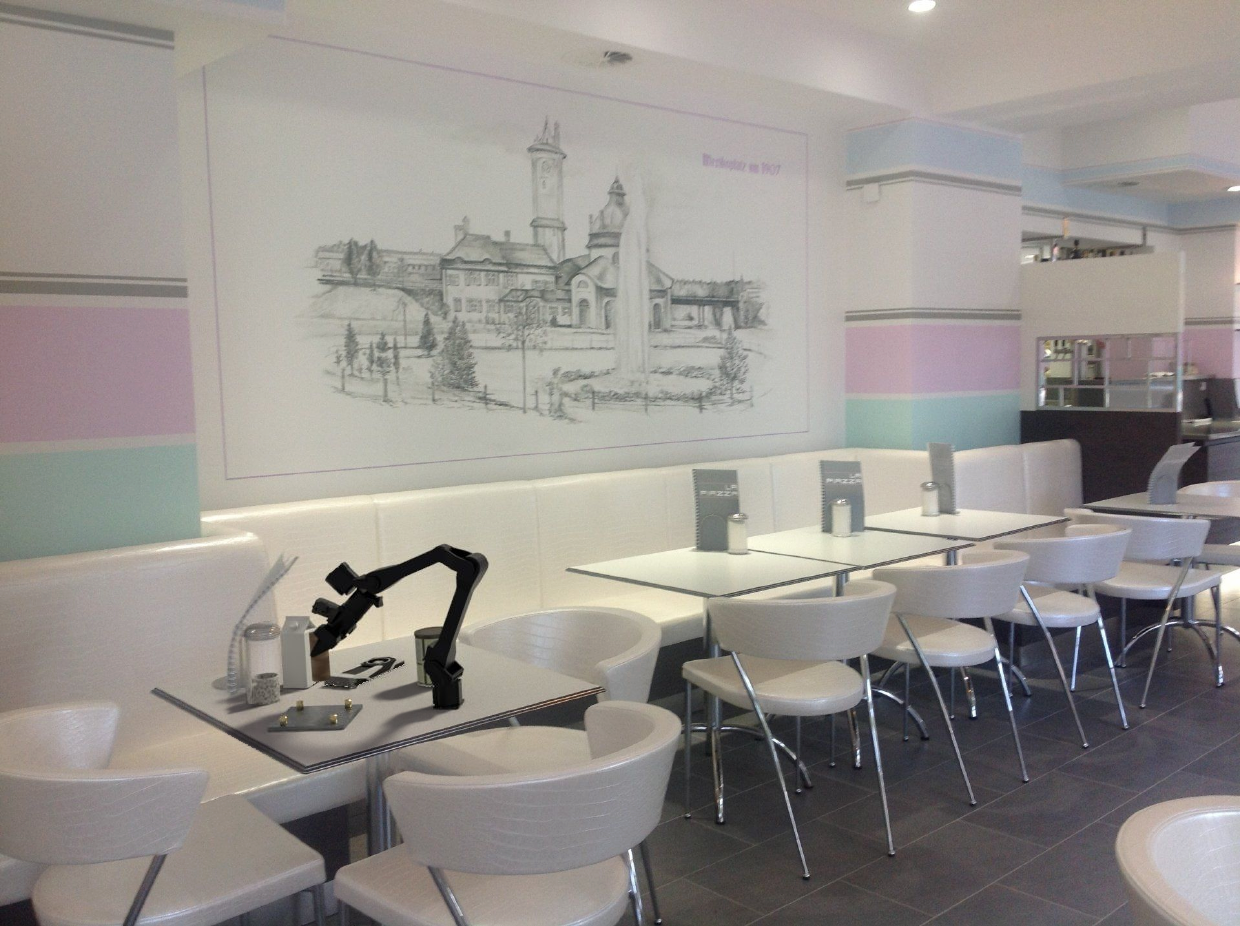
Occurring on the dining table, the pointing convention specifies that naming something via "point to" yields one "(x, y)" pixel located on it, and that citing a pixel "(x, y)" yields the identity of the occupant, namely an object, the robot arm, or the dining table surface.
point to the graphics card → (365, 671)
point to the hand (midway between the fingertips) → (314, 653)
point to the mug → (264, 689)
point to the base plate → (316, 717)
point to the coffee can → (424, 651)
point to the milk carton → (296, 652)
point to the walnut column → (319, 662)
